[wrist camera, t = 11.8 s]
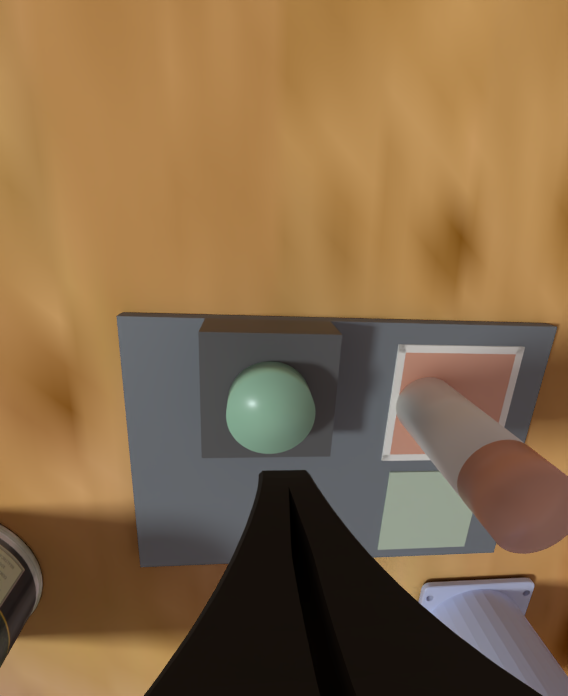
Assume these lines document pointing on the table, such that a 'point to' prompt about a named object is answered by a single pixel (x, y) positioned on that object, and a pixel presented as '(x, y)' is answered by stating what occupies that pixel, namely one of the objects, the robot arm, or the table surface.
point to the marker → (487, 467)
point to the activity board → (347, 439)
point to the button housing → (261, 346)
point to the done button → (270, 408)
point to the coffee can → (16, 588)
